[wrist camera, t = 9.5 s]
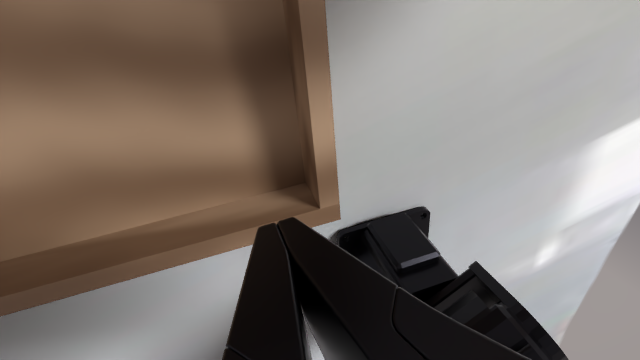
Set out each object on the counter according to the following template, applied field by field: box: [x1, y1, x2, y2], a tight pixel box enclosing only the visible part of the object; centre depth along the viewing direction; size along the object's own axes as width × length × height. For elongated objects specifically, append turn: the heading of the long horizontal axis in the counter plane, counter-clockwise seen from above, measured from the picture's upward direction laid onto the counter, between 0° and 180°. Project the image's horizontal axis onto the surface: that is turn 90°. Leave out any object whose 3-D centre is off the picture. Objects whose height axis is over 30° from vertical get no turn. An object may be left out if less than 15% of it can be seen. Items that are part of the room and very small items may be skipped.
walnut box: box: [0, 0, 341, 316], centre depth 15 cm, size 18×20×4 cm
